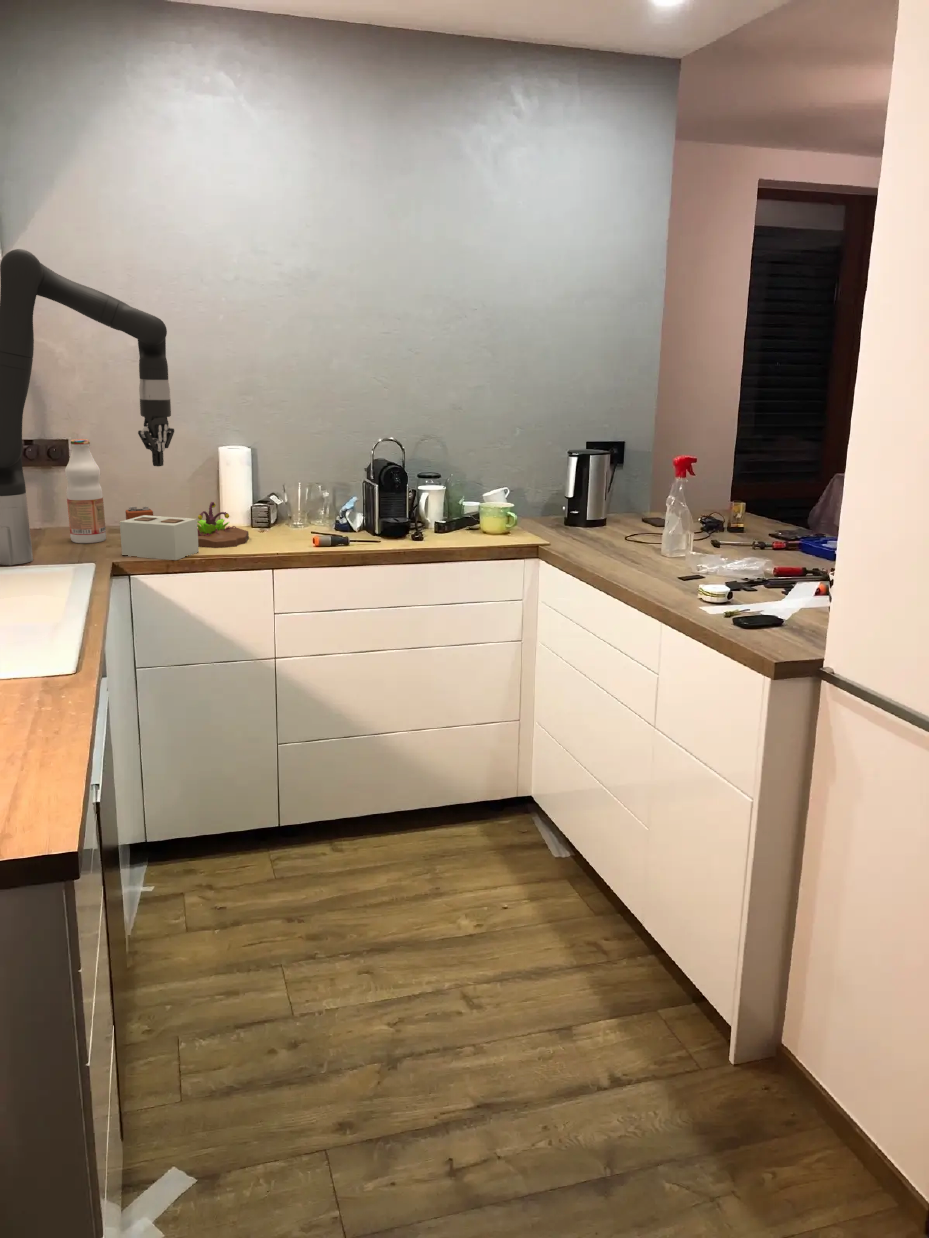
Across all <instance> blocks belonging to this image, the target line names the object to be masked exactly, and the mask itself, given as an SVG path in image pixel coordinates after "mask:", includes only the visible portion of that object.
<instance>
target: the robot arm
mask: <svg viewBox="0 0 929 1238" xmlns="http://www.w3.org/2000/svg"><path fill="white" fill-rule="evenodd" d="M37 296H38V297H42V298H45V299H48V300H51V301H53V302H57V304H58V303H59V304H61V305H63V306H65V307H67V308H69V309H71V310H74V311H75V312H77V313H79V314H81V315H83V316H85V317H87V318H89V319H92V320H93V321H95V322H96V323H100V324H102V325H104V326H107V327H109V328H111V329H114V330H116V331H119V332H123V333H124V334H127V335H129V336H131V337H133V338H134V339H137V345H138V346H137V347H138V352H139V353H138V355H139V356H138V357H139V361H138V371H139V372H138V373H139V374H138V375H139V385H138V394H139V409H140V410H139V411H140V413H139V414H140V416H141V417H144V421H143V429H142V430H138V432H137V434H138V436H139V438H140V440H141V442H142V444H143V445H144V447H145V449H146V450H150V452H151V456H152V457H151V458H152V466H154V467H163V466H164V462H165V461H164V459H165V458H164V452H165V450H166V449H168V448H170V447H169V446H170V444H171V442H172V439H173V437H174V435H175V434H174V433H175V428H172V427H170V423H169V420H168V418H170V417H171V416H172V405H171V403H172V402H171V389H170V383H169V365H168V361H167V355H166V354H167V352H166V350H167V349H166V347H167V345H166V341H167V340H166V338H167V334H168V330H167V327H166V323H164V321H163V320H162V319H161V318H159V317H158V316H155V315H153V314H151V313H148V312H146V311H143V310H141V309H139V308H135V307H133V306H131V305H129V304H128V303H126V302H124V301H122V300H120V299H118V298H115V297H113V296H112V295H109V294H106V293H105V292H103V291H100V290H98V289H95V288H92V287H91V286H86V285H83V284H81V283H79V282H76V281H73V280H71V279H69V278H67V277H64V276H62V275H61V274H59V273H57V272H55V271H53V270H52V269H50V268H49V267H47V266H46V265H44V264H43V263H41V262H40V260H39V259H38V257H36V255H34V254H33V253H32V252H30V251H28V250H27V249H22V248H16V249H12V250H10V251H8V252H6V253H5V254H4V256H3V257H2V258H1V261H0V565H3V566H4V565H5V566H14V565H21V564H26V563H29V562H30V563H31V562H32V561H34V558H33V557H34V555H33V546H32V537H31V536H32V535H31V528H30V518H29V511H28V498H27V487H26V482H25V477H24V476H25V475H24V471H23V470H24V469H23V462H22V461H23V460H22V455H23V419H24V418H23V416H24V411H25V405H26V400H27V397H28V391H29V387H30V381H31V376H32V370H33V369H32V368H33V361H34V350H35V348H34V347H35V346H34V344H35V334H34V311H35V306H36V305H35V304H36V298H37Z"/></svg>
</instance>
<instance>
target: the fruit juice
mask: <svg viewBox="0 0 929 1238" xmlns="http://www.w3.org/2000/svg"><path fill="white" fill-rule="evenodd" d="M90 444H91V441H90V439H87V438H85V439H84V438H77V439H76V438H75V439H70V446H71V448H72V449H71V453H70V456H69V460H68V462H67V465H66V467H65V471H64V475H65V478H66V480H67V487H66V502H67V514H68V522H69V523H68V525H69V536H70V540H71V542H73V543H76V544H95V543H100V542H104V541H106V539H107V530H106V517H105V507H104V506H105V504H104V493H103V487H102V486H101V483H100V479H101V469H100V467H99V465H98V464H97V462H96V460H95V459H94V456H93V454H92V452H91V449H90V446H91V445H90Z"/></svg>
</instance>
